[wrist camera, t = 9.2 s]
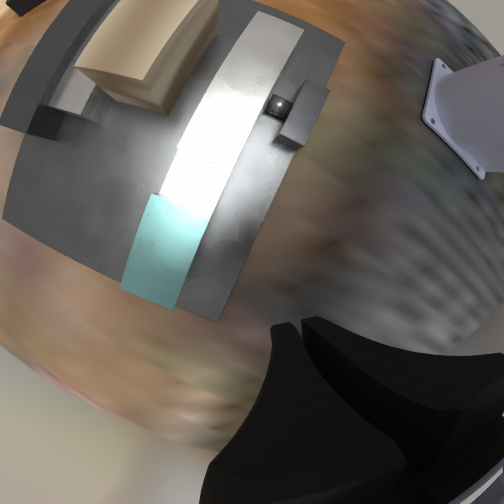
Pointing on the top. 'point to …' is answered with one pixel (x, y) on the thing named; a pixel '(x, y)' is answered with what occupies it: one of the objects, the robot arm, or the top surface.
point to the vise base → (150, 149)
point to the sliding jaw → (206, 161)
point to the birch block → (149, 50)
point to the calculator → (23, 5)
